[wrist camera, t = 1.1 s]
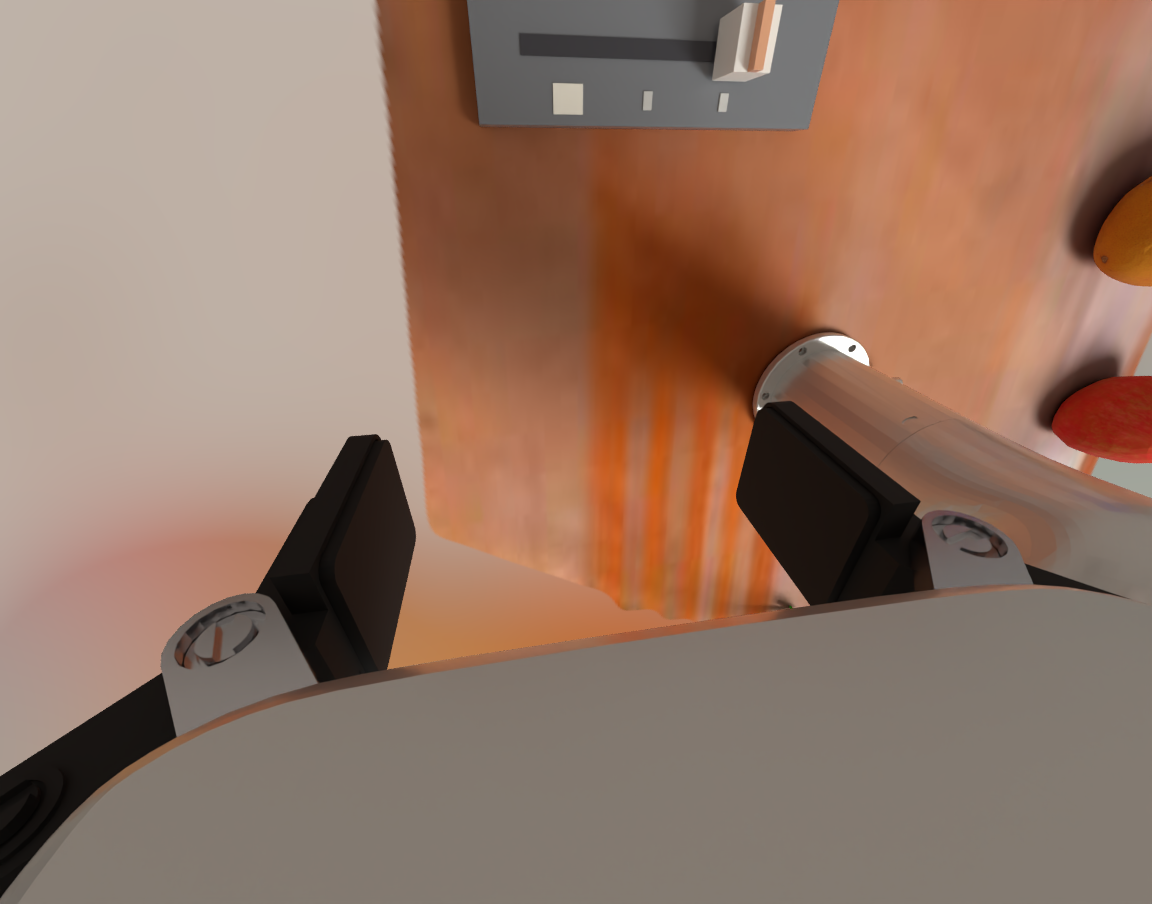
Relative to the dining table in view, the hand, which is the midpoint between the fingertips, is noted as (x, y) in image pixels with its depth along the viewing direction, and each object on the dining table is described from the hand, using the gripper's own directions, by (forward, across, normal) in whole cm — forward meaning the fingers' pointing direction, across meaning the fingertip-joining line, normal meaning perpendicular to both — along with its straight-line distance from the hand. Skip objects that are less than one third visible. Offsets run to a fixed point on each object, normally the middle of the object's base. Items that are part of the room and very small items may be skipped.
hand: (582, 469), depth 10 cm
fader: (+28, -15, -13) cm, 34 cm away
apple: (+31, -70, +19) cm, 79 cm away
